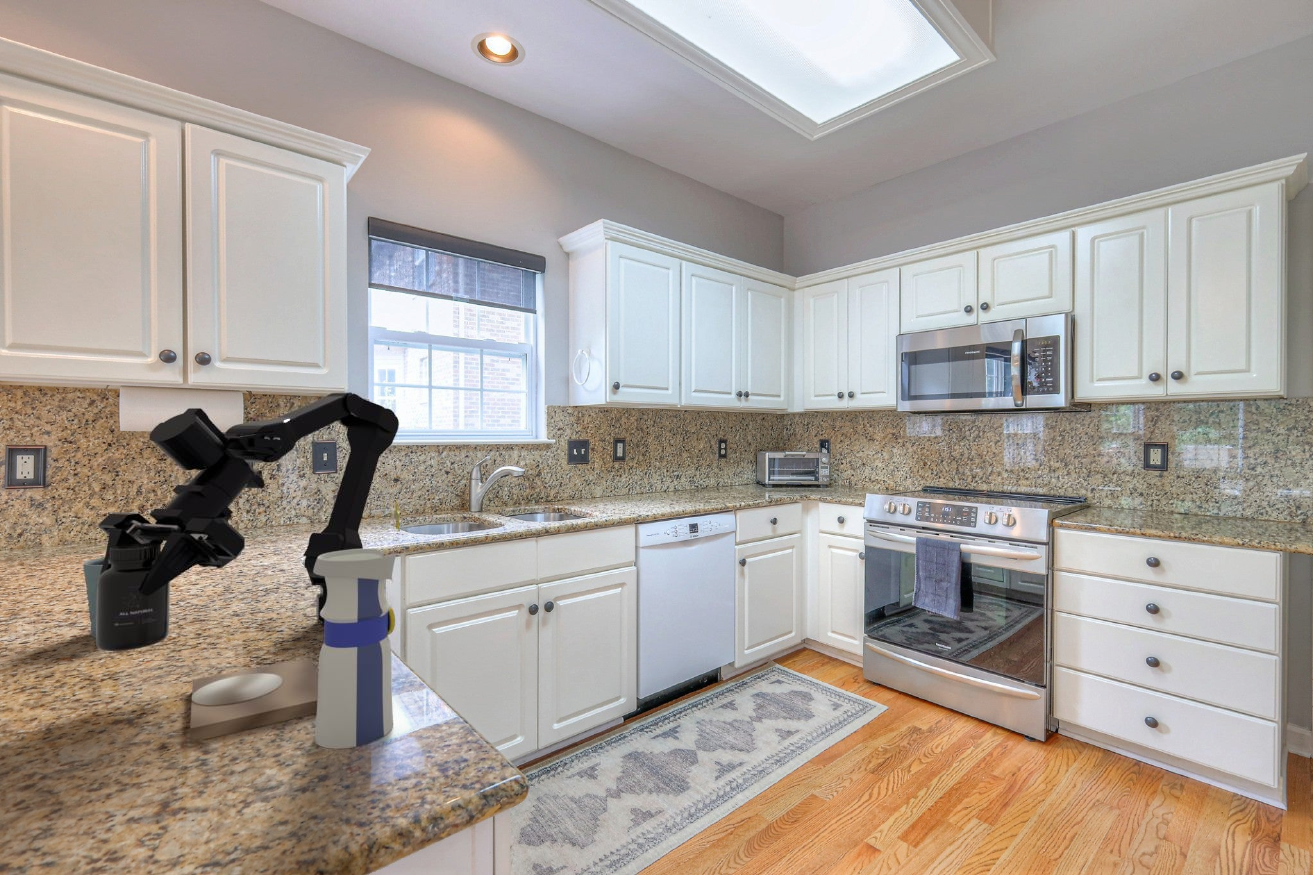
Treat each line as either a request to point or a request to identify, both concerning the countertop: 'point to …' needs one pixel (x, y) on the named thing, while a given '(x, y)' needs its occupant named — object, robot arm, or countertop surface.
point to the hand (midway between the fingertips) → (121, 592)
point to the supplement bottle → (130, 601)
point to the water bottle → (355, 648)
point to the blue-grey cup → (92, 588)
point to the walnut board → (252, 698)
